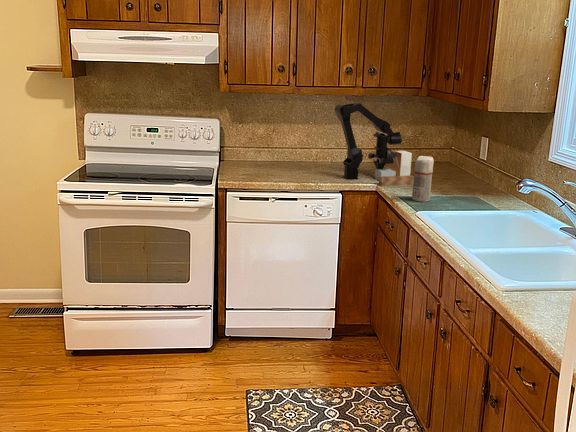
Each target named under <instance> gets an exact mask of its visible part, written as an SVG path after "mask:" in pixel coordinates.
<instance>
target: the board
mask: <svg viewBox="0 0 576 432" xmlns="http://www.w3.org/2000/svg"><path fill="white" fill-rule="evenodd" d="M413 182H414V175H411V174H410V175H409V176H397V175H395V176H383V177H379V180H378V185H379V186H382V187H383V186H404V185H405V186H406V185H408V186H409V185H413Z"/></svg>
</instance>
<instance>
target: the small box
mask: <svg viewBox="0 0 576 432" xmlns="http://www.w3.org/2000/svg"><path fill="white" fill-rule="evenodd" d="M394 153H397V155H396V158H395V159H394V164H393V169H392V170H393V171H395V172H396V175H395V176H409V175H411V171H412V170H411V169H412V157H413V156H412V155H413V153H412V152H409V151H407V150H395V151H394Z"/></svg>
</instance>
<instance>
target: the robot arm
mask: <svg viewBox="0 0 576 432" xmlns="http://www.w3.org/2000/svg"><path fill="white" fill-rule="evenodd" d="M334 112H335V115H336V117H337V118H338V120H339V121H340V124H341V127H342V131H343V134H344V139H345V142H346V147H347V151H346V154H347V155H346V156H347V157H346V158H345V159H344V160H343V161H342V163H343V166H344V170H343V176H342V178H343V179H345V180H359V167H360V165H361V163H362V161H363V158H364V155H363V151H362V148H360V147H358V146H357V144H356V138H355V136H354V135H355V134H354V130H353V127H352V123H351V118H352V116H351V114H354V113H356V112H357V113H358V114H359V115H361V116H362V117H364V118H365V119H366V120H367V121H369V123H371V125H372V127H373V128H374V129H375V130H376V131H375V133H373V135H372V137H375V138H376V142H375V143H376V145H375V146H374V149H375V152H369V153H368V156H367V158H368V159H370V160H371V159H373V160H372V162H373V163H374V166H375V168H376V169H385V168H384V167H385V166H387V165H388V164H389V165H394V159H395V158H396V155H397V153H395V151H392V149H391V148H390V147H388V146H400V145H401V144H402V141H403V138H402V135H401V132H400V131H393V130H392V128H391V124H390V123H389V122H388V121H386V120H384V119H383V118H379V117H378V116H377V115H375V114H374V113H373V112H371V111H370V110H369V109H368V108H366V107H365V106H364V105H363V104H362V103H360V102H353V103H346V104H343V103H339V104H337V105H336V106H335V107H334Z"/></svg>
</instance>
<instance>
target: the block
mask: <svg viewBox="0 0 576 432" xmlns="http://www.w3.org/2000/svg"><path fill="white" fill-rule="evenodd" d="M393 170H394V169H391V168H383V169H375V172H374V173H375V174H374V179H376V180H378V181H379V177H383V176H397V175H396V172H395V171H393Z"/></svg>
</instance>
